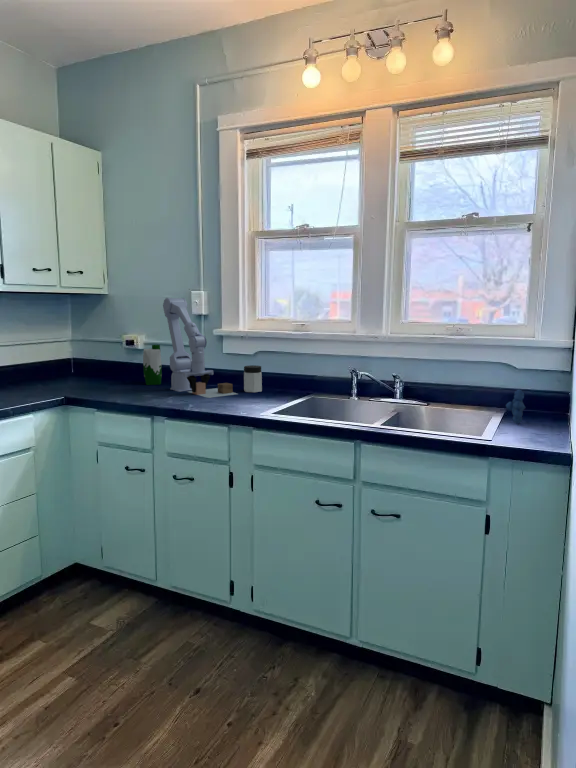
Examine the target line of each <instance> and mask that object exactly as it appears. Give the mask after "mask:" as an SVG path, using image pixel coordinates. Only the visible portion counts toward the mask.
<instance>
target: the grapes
mask: <svg viewBox="0 0 576 768" xmlns="http://www.w3.org/2000/svg"><path fill="white" fill-rule="evenodd" d="M524 398H525V392H524V391H523V390H522V389H521V388H519V389H516V390H515V391H514V393H513V399H512V401H508V402H507V403H506V404H505V408H506V409H507V411H511V413H512V415H513V416H512V421H513V423H515V424H516V425H518V424H520V423H521V422H522V421H523V417H522V416H523V413H524V412H523V411H524V410H525V409H526V406H525V404H524V402H523V400H524Z"/></svg>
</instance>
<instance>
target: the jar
mask: <svg viewBox="0 0 576 768" xmlns="http://www.w3.org/2000/svg"><path fill="white" fill-rule="evenodd" d="M262 376H263V375H262V365H254V364H253V365H251V364H250V365H245V366H243V390H244V392H245V393H258V392H260V393H261V392H262V391H263V385H262V383H263V380H262V379H263V377H262Z"/></svg>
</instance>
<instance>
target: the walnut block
mask: <svg viewBox="0 0 576 768" xmlns="http://www.w3.org/2000/svg"><path fill="white" fill-rule="evenodd" d="M233 387H234V386H233V383H229V382H223V383H217V388H218V393H222V394H226V393H234V391H233Z"/></svg>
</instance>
